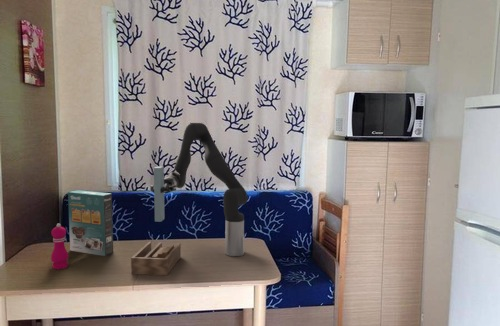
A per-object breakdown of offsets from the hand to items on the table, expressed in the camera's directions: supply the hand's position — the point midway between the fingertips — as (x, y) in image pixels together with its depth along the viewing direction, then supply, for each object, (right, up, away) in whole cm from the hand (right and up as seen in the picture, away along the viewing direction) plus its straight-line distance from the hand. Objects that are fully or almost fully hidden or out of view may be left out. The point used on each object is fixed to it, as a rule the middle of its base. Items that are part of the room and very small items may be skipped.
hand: (157, 190), depth 194 cm
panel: (0, -15, +5) cm, 15 cm away
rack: (+2, -34, -6) cm, 34 cm away
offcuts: (+4, -34, -6) cm, 35 cm away
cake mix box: (-36, -32, +11) cm, 49 cm away
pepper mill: (-42, -34, -10) cm, 55 cm away
